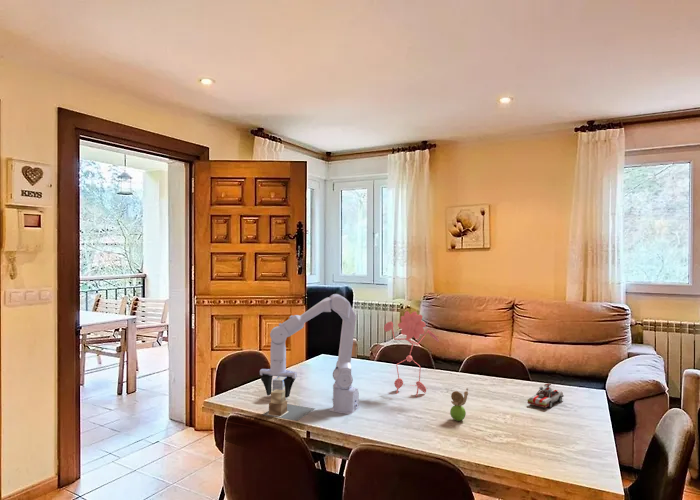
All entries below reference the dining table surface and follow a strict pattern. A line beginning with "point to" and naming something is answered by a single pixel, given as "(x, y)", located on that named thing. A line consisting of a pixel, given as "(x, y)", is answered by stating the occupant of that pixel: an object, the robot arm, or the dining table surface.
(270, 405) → the walnut brick
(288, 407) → the mat
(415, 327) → the figurine
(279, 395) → the beech brick
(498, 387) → the dining table surface
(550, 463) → the dining table surface
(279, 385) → the medicine box
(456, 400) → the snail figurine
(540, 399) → the toy car
